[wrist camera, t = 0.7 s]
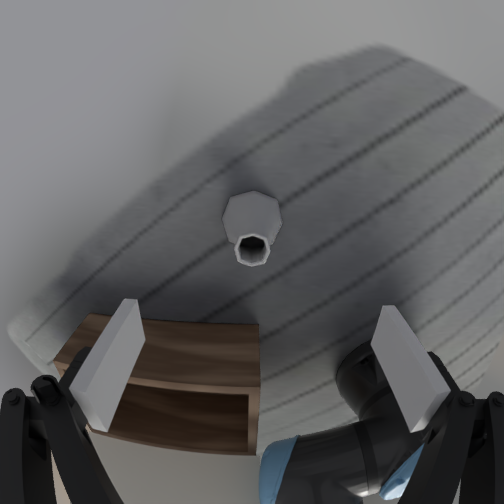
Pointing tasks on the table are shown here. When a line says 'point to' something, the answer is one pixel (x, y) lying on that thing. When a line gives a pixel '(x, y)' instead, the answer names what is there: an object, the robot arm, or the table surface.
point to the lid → (177, 474)
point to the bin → (184, 385)
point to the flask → (252, 226)
